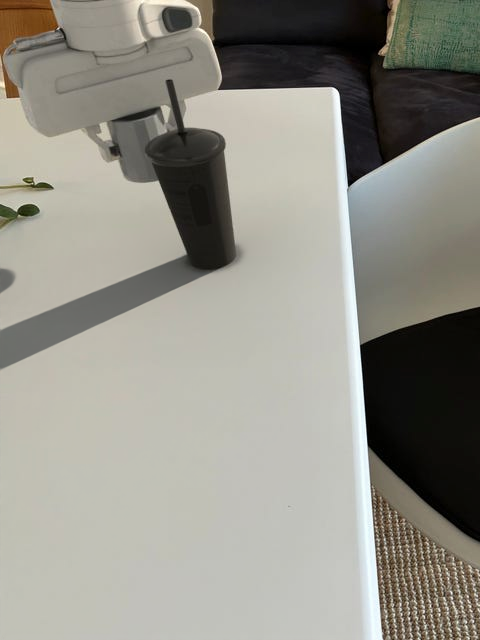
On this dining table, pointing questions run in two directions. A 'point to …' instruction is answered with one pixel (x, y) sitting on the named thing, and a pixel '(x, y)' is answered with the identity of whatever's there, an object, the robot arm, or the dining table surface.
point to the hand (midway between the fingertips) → (144, 149)
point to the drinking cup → (195, 189)
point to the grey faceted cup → (137, 142)
